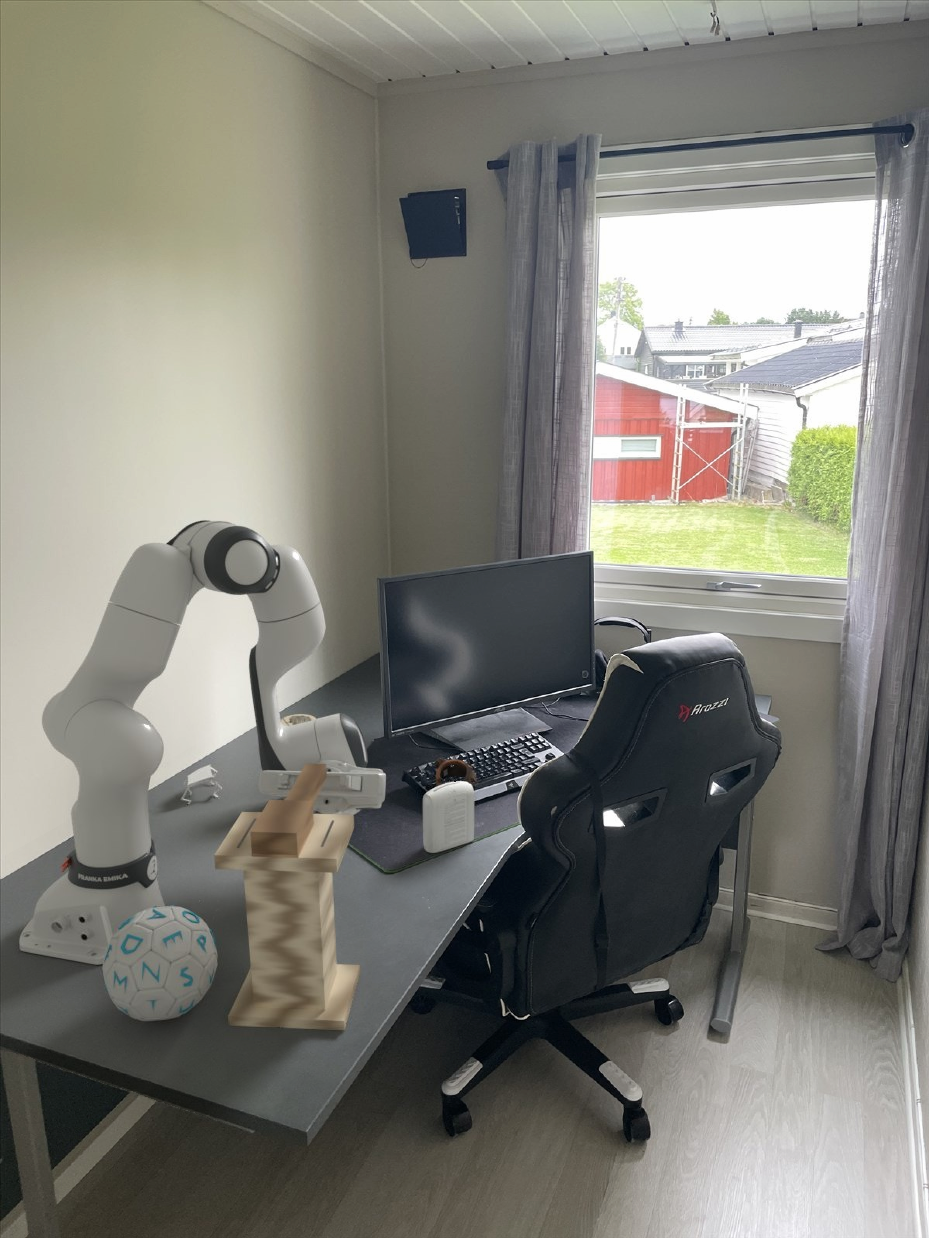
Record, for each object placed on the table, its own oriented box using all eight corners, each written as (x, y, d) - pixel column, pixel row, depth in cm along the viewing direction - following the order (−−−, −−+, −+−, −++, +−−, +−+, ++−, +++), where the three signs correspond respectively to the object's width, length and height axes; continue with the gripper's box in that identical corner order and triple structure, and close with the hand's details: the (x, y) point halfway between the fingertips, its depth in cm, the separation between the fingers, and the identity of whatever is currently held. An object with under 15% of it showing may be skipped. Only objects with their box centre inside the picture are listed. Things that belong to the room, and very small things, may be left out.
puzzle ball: (192, 1052, 119) (182, 953, 115) (86, 1039, 121) (73, 942, 117) (238, 978, 133) (230, 888, 129) (143, 968, 136) (133, 879, 132)
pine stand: (228, 1025, 124) (214, 854, 117) (254, 969, 135) (242, 811, 128) (344, 1030, 123) (336, 858, 116) (360, 973, 134) (353, 814, 127)
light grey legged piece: (220, 806, 187) (218, 784, 186) (179, 807, 186) (177, 786, 185) (230, 780, 198) (228, 760, 197) (191, 782, 198) (189, 761, 196)
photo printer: (465, 832, 176) (465, 773, 172) (477, 841, 172) (477, 781, 169) (419, 847, 170) (418, 786, 167) (431, 856, 167) (430, 795, 163)
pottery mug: (489, 792, 194) (483, 769, 188) (457, 820, 190) (449, 798, 184) (452, 762, 201) (445, 739, 195) (421, 789, 197) (412, 767, 192)
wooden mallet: (251, 856, 117) (249, 831, 116) (297, 776, 140) (295, 755, 139) (298, 857, 116) (296, 833, 115) (336, 777, 139) (335, 756, 138)
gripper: (272, 767, 153) (248, 757, 139) (392, 770, 151) (380, 761, 138) (268, 805, 151) (244, 799, 138) (390, 808, 150) (378, 803, 136)
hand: (313, 780), depth 138 cm, fingers open, 8 cm apart
